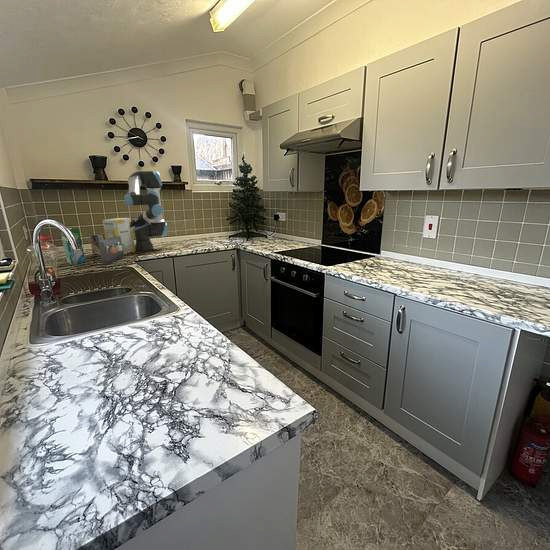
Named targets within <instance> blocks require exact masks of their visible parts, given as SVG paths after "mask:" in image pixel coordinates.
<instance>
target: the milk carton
mask: <svg viewBox="0 0 550 550" xmlns="http://www.w3.org/2000/svg"><path fill="white" fill-rule="evenodd" d="M67 229H69V230H70V231H71V232H72V233H73V235H74V236H75V238H76V240H77V242H78V244H79V247H80V250H74V249H73V248H72V247H71V246H70V244H69V242H68V240H67V238H66V237H65V235H64V234H63V233H62V232H61V231H60V236H61V241H62V245H63V249H64V254H65V260H66V263H67V264H69V265H71V266H72V265H73V264H74V265H78V263H79V264H83V263H82V262H85V263H86V257H85V252H84V248H83V247H84V246H83V242H82V238H81V233H80V229H79V228H78V227H76V228H71V227H69V228H67ZM74 265H73V266H74Z"/></svg>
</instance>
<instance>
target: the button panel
mask: <svg viewBox="0 0 550 550" xmlns="http://www.w3.org/2000/svg"><path fill="white" fill-rule="evenodd" d="M121 243H122V242H121V236H115V237H112V238H109V239H106V238H105V240H102V241H99V242H98V245H99V250H100V255H99V256H100V259H101V260H98V261H95V262H96V263H95V264H96V265H98V264H97V263H109V264H111V263H113V262H115V261H114V260H116V261H117V259H118V260H120V259H122V258H124V257H125V255H124V254H123V249H122V251H117V253H113V254H111V253H110V248H111V247H116V245H121ZM123 256H124V257H123ZM121 257H122V258H121ZM119 258H120V259H119ZM112 261H113V262H112ZM110 262H111V263H110Z"/></svg>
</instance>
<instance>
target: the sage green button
mask: <svg viewBox="0 0 550 550" xmlns="http://www.w3.org/2000/svg"><path fill="white" fill-rule="evenodd" d="M121 246H122V248H123V249H127V244H126V243H121Z"/></svg>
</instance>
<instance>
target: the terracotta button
mask: <svg viewBox="0 0 550 550" xmlns="http://www.w3.org/2000/svg"><path fill="white" fill-rule="evenodd" d="M110 253H111V254H113V253H117V248H116V247H111V248H110Z"/></svg>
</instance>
